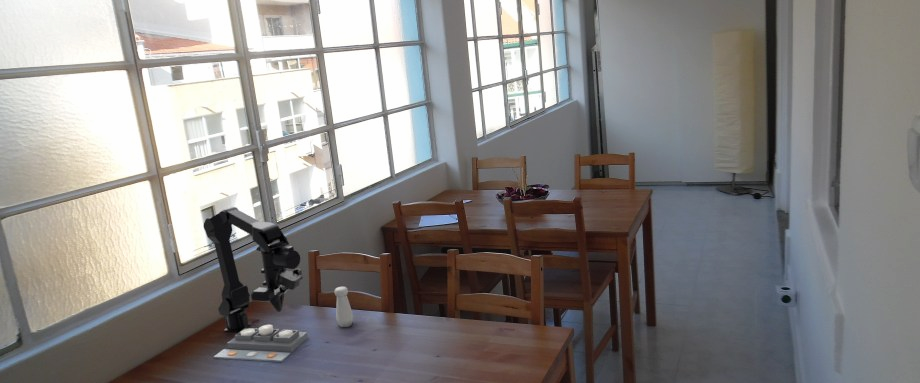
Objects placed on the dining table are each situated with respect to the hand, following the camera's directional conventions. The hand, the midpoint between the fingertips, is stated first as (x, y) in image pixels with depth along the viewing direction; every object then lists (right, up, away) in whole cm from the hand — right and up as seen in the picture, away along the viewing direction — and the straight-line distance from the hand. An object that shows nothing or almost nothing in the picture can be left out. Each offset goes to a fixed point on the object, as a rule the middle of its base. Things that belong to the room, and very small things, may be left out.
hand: (279, 311), depth 219 cm
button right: (+3, -8, -2) cm, 9 cm away
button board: (-4, -10, +1) cm, 11 cm away
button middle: (-4, -7, 0) cm, 8 cm away
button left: (-11, -9, +3) cm, 14 cm away
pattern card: (-6, -13, -7) cm, 16 cm away
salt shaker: (+19, -6, +10) cm, 23 cm away
